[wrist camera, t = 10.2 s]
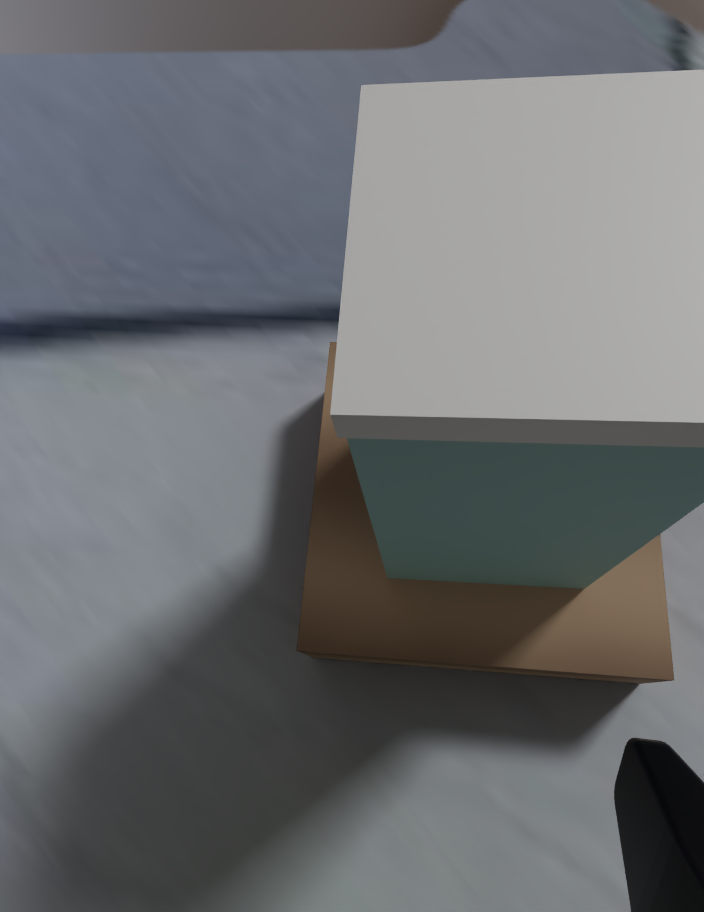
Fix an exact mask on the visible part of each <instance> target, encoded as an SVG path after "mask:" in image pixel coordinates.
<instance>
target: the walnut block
mask: <svg viewBox="0 0 704 912" xmlns="http://www.w3.org/2000/svg"><path fill="white" fill-rule="evenodd" d="M336 347H337V342H330V348H329V358H328V367H327V376H326V385H325V394H324V404H323V413H322V422H321V431H320V440H319V449H318V459H317V468H316V477H315V486H314V495H313V505H312V514H311V523H310V532H309V541H308V551H307V560H306V569H305V578H304V587H303V597H302V606H301V615H300V624H299V633H298V642H297V651H299V652H301V653H303V654H306V655H308V656H310V657H313V658H325V659H338V660H350V661H363V662H375V663H388V664H401V665H413V666H426V667H438V668H451V669H463V670H476V671H488V672H501V673H513V674H526V675H538V676H551V677H563V678H576V679H589V680H601V681H614V682H626V683H639V684H642V683H652V682H662V681H672V680H674V674H673V663H672V653H671V643H670V633H669V622H668V612H667V602H666V591H665V581H664V571H663V561H662V550H661V540H660V534H659V535H658V536H656V537H655V538H654V539H652V540H651V541H650V542H648V543H647V544H645V545H644V546H643V547H641V548H640V549H639V550H637V551H636V552H634V553H633V554H632V555H630V556H629V557H628V558H626V559H625V560H623V561H622V562H621V563H619V564H618V565H617V566H615V567H614V568H612V569H611V570H610V571H608V572H607V573H606V574H604V575H603V576H601V577H600V578H599V579H597V580H596V581H595V582H593V583H592V584H591V585H589V586H588V587H586V588H585V589H577V588H559V587H540V586H522V585H504V584H485V583H467V582H448V581H430V580H412V579H393V578H387V575H386V571H385V568H384V564H383V561H382V558H381V554H380V551H379V547H378V544H377V540H376V537H375V534H374V530H373V527H372V523H371V520H370V516H369V513H368V509H367V506H366V503H365V499H364V496H363V492H362V489H361V485H360V482H359V479H358V475H357V472H356V468H355V465H354V461H353V458H352V455H351V451H350V448H349V444H348V441H347V438H337V434H336V431H335V428H334V425H333V422H332V419H331V416H330V410H331V399H332V389H333V378H334V368H335V357H336Z"/></svg>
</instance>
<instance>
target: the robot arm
mask: <svg viewBox="0 0 704 912" xmlns="http://www.w3.org/2000/svg"><path fill="white" fill-rule="evenodd" d="M614 800H615V809H616V815H617V822H618V828H619V835H620V841H621V848H622V854H623V861H624V867H625V874H626V880H627V887H628V893H629V900H630V906H631V912H704V782H703V781H702V780H701V779H700V778H699V777H698V776H697V775H696V773H695V772H694V771H693V770H692V769H691V768H690V767H689V766H688V765H687V764H686V763H685V762H684V760H683V759H682V758H681V757H680V756H679V755H678V754H677V753H676V752H675V751H674V750H673V749H672V748H671V747H670V746H669V745H668V744H666V743H665V742H662V741H658V740H649V739H640V738H631V739H630V740H629V741H628V742H627V744H626V746H625V749H624V753H623V757H622V760H621V764H620V767H619V771H618V775H617V778H616V782H615V789H614Z"/></svg>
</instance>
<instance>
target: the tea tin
mask: <svg viewBox="0 0 704 912" xmlns="http://www.w3.org/2000/svg"><path fill="white" fill-rule="evenodd" d="M330 416H331V419H332V422H333V425H334V428H335V431H336V434H337V438H347V441H348V444H349V448H350V451H351V455H352V458H353V461H354V465H355V468H356V472H357V475H358V479H359V482H360V485H361V489H362V492H363V496H364V499H365V503H366V506H367V509H368V513H369V516H370V520H371V523H372V527H373V530H374V534H375V537H376V540H377V544H378V547H379V551H380V554H381V558H382V561H383V564H384V568H385V571H386V575H387V578H393V579H412V580H430V581H448V582H467V583H485V584H504V585H522V586H540V587H559V588H577V589H585V588H586V587H588V586H589V585H591V584H592V583H593V582H595V581H596V580H597V579H599V578H600V577H601V576H603V575H604V574H606V573H607V572H608V571H610V570H611V569H612V568H614V567H615V566H617V565H618V564H619V563H621V562H622V561H623V560H625V559H626V558H628V557H629V556H630V555H632V554H633V553H634V552H636V551H637V550H639V549H640V548H641V547H643V546H644V545H645V544H647V543H648V542H650V541H651V540H652V539H654V538H655V537H656V536H658V535H659V534H661V533H662V532H663V531H665V530H666V529H667V528H669V527H670V526H672V525H673V524H674V523H676V522H677V521H678V520H680V519H681V518H683V517H684V516H685V515H687V514H688V513H689V512H691V511H692V510H694V509H695V508H696V507H698V506H699V505H700V504H702V503H703V502H704V70H686V71H664V72H642V73H620V74H598V75H575V76H553V77H531V78H509V79H487V80H465V81H443V82H421V83H398V84H376V85H361V95H360V106H359V116H358V127H357V137H356V148H355V158H354V169H353V179H352V190H351V200H350V211H349V221H348V232H347V242H346V253H345V263H344V274H343V284H342V295H341V305H340V316H339V326H338V337H337V347H336V357H335V368H334V378H333V389H332V399H331V410H330Z"/></svg>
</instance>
